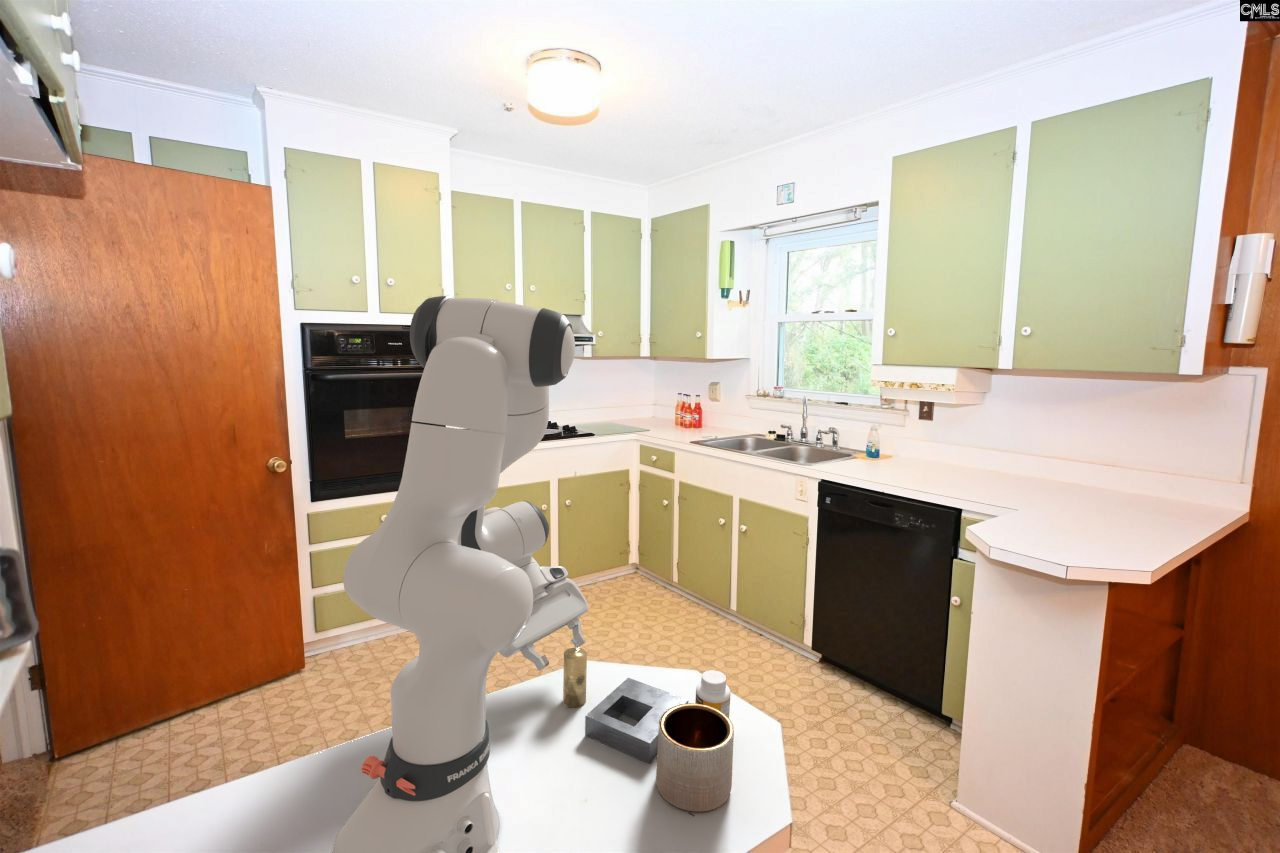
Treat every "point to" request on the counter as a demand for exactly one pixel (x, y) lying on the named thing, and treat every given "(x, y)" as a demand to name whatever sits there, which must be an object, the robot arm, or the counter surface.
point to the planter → (695, 757)
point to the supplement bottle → (714, 691)
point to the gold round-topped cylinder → (574, 677)
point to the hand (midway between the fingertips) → (563, 656)
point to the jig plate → (637, 705)
